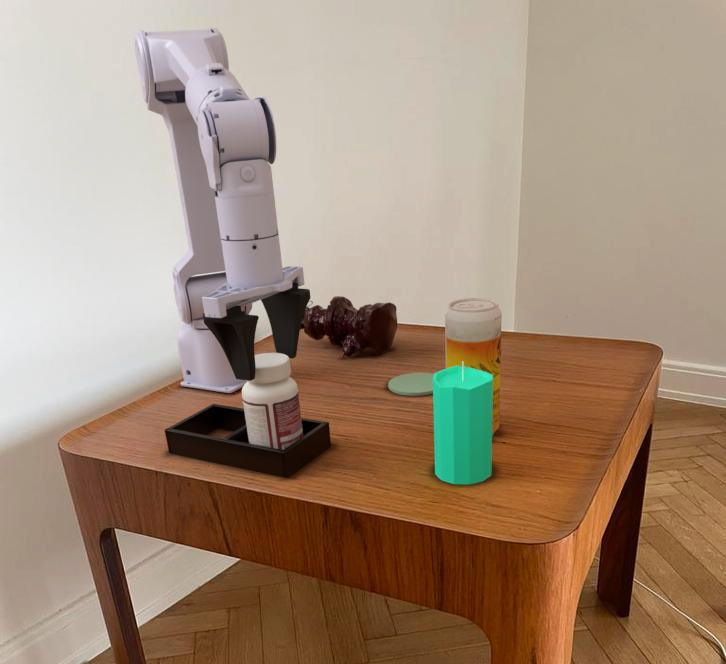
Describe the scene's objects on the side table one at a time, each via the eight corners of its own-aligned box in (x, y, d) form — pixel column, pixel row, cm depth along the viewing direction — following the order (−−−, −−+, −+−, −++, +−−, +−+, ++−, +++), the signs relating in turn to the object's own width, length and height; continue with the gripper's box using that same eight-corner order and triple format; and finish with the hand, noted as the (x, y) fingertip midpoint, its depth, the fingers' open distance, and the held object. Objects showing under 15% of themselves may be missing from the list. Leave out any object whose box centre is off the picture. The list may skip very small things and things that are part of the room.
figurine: (390, 377, 116) (295, 367, 125) (409, 319, 119) (315, 313, 127) (364, 345, 108) (265, 337, 117) (385, 284, 110) (286, 281, 119)
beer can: (498, 443, 84) (500, 310, 77) (444, 441, 85) (441, 311, 78) (500, 422, 89) (502, 296, 82) (449, 421, 90) (447, 297, 84)
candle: (430, 462, 81) (427, 355, 75) (485, 456, 81) (486, 349, 75) (440, 487, 75) (437, 374, 70) (498, 481, 76) (500, 368, 70)
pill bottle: (306, 442, 88) (295, 348, 82) (304, 465, 82) (293, 366, 77) (253, 446, 88) (240, 353, 82) (248, 469, 82) (233, 370, 77)
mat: (377, 391, 101) (377, 388, 101) (404, 373, 107) (404, 370, 107) (431, 399, 97) (431, 395, 97) (455, 379, 103) (455, 376, 103)
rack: (168, 453, 87) (164, 429, 86) (217, 425, 94) (213, 403, 93) (287, 478, 80) (284, 452, 78) (331, 446, 86) (329, 422, 85)
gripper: (236, 251, 67) (256, 394, 73) (322, 224, 78) (333, 351, 84) (176, 248, 70) (200, 386, 76) (267, 223, 81) (282, 345, 87)
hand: (266, 367), depth 80 cm, fingers open, 7 cm apart
